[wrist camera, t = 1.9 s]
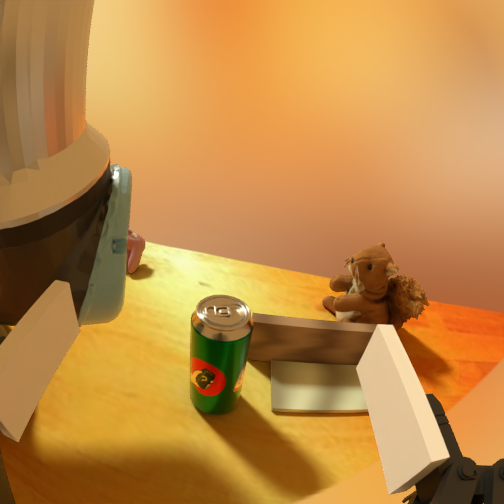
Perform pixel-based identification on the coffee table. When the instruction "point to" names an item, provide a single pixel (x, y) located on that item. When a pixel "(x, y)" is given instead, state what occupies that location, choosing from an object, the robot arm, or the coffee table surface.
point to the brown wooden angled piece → (312, 362)
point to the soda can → (219, 352)
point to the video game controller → (134, 250)
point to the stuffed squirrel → (375, 291)
